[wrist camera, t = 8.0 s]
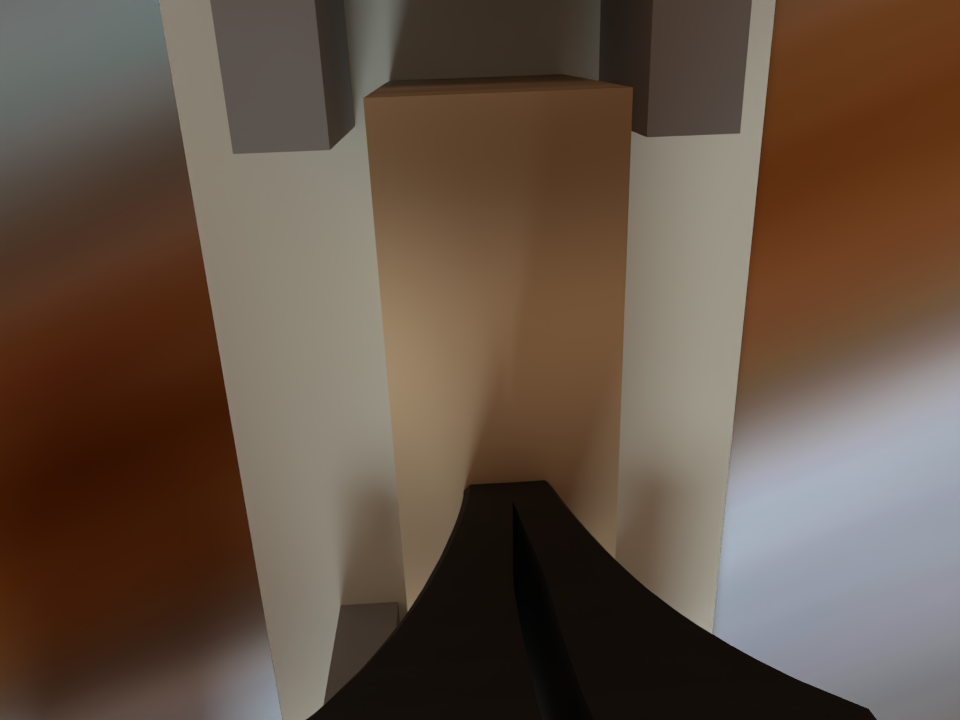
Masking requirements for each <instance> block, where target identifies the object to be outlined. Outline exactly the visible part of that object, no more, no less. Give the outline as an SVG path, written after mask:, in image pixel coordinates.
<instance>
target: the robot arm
mask: <svg viewBox="0 0 960 720" xmlns="http://www.w3.org/2000/svg"><path fill="white" fill-rule="evenodd" d="M306 720H877V719H876V718H875V717H874V715H873V714H872V713H871V711H870V710H869V709H867V708H865V707H862V706H860V705H857V704H855V703H853V702H850V701H848V700H845V699H843V698H840V697H838V696H836V695H833V694H831V693H828V692H826V691H823V690H821V689H819V688H816V687H814V686H811V685H809V684H806V683H804V682H802V681H799V680H797V679H795V678H793V677H791V676H788V675H786V674H784V673H782V672H780V671H778V670H776V669H774V668H772V667H770V666H768V665H766V664H764V663H762V662H760V661H758V660H756V659H754V658H753V657H751V656H749V655H747V654H745V653H744V652H742V651H740V650H738V649H736V648H735V647H733V646H731V645H729V644H727V643H726V642H724V641H723V640H721V639H719V638H718V637H716V636H715V635H713V634H711V633H710V632H708V631H706V630H705V629H703V628H702V627H700V626H698V625H697V624H695V623H694V622H692V621H691V620H689V619H688V618H686V617H685V616H683V615H682V614H680V613H679V612H678V611H676V610H675V609H674V608H672V607H671V606H670V605H668V604H667V603H666V602H664V601H663V600H662V599H660V598H659V597H658V596H656V595H655V594H654V593H652V592H651V591H650V590H648V589H647V588H646V587H645V586H644V585H643V584H641V583H640V582H639V581H638V580H637V579H636V578H635V577H634V576H633V575H631V574H630V573H629V572H628V571H627V570H626V569H625V568H624V567H623V566H622V565H621V564H620V563H619V562H618V561H617V560H615V559H614V558H613V557H612V556H611V555H610V554H609V553H608V552H607V551H606V549H605V548H604V547H603V546H602V545H601V544H600V543H599V542H598V541H597V540H596V539H595V538H594V537H593V536H592V535H591V533H590V532H589V531H588V530H587V529H586V528H585V527H584V526H583V525H582V523H581V522H580V521H579V520H578V519H577V518H576V516H575V515H574V514H573V513H572V512H571V510H570V509H569V508H568V507H567V505H566V504H565V503H564V502H563V500H562V499H561V498H560V496H559V495H558V494H557V492H556V491H555V490H554V488H553V487H552V486H551V485H550V484H549V483H548V482H547V481H546V480H541V481H525V482H508V483H490V484H470V485H469V486H468V487H467V488H466V489H465V490H464V491H463V500H462V504H461V508H460V511H459V514H458V517H457V520H456V523H455V525H454V528H453V530H452V533H451V535H450V537H449V539H448V541H447V544H446V546H445V548H444V550H443V553H442V555H441V557H440V559H439V561H438V562H437V564H436V566H435V568H434V570H433V571H432V573H431V575H430V577H429V578H428V580H427V582H426V584H425V586H424V587H423V589H422V591H421V592H420V594H419V595H418V597H417V599H416V600H415V602H414V603H413V605H412V606H411V608H410V609H409V611H408V612H407V613H406V615H405V616H404V618H403V619H402V620H401V622H400V623H399V624H398V626H397V627H396V628H395V630H394V631H393V632H392V633H391V635H390V636H389V637H388V638H387V640H386V641H385V642H384V643H383V644H382V646H381V647H380V648H379V649H378V650H377V652H376V653H375V654H374V655H373V656H372V657H371V659H370V660H369V661H368V662H367V663H366V664H365V665H364V666H363V667H362V668H361V669H360V671H359V672H358V673H357V674H356V675H354V676H353V677H352V678H351V679H350V680H349V681H348V682H347V683H346V684H345V685H344V686H343V687H342V688H341V689H340V690H339V691H338V692H337V693H336V694H335V695H334V696H333V697H332V698H331V699H330V700H329V701H328V702H327V703H326V704H324V705H323V706H322V707H321V708H320V709H319V710H318V711H316V712H315V713H314V714H313V715H311V716H310V717H309V718H307V719H306Z"/></svg>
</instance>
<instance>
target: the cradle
mask: <svg viewBox="0 0 960 720" xmlns="http://www.w3.org/2000/svg"><path fill="white" fill-rule="evenodd" d="M775 2H776V0H159V5H160V11H161V16H162V22H163V28H164V34H165V40H166V46H167V51H168V57H169V63H170V69H171V75H172V80H173V86H174V92H175V98H176V104H177V110H178V115H179V121H180V127H181V133H182V139H183V144H184V150H185V156H186V162H187V168H188V174H189V179H190V185H191V191H192V197H193V203H194V208H195V214H196V220H197V226H198V232H199V237H200V243H201V249H202V255H203V261H204V267H205V272H206V278H207V284H208V290H209V296H210V301H211V307H212V313H213V319H214V325H215V331H216V336H217V342H218V348H219V354H220V360H221V365H222V371H223V377H224V383H225V389H226V395H227V400H228V406H229V412H230V418H231V424H232V429H233V435H234V441H235V447H236V453H237V458H238V464H239V470H240V476H241V482H242V488H243V493H244V499H245V505H246V511H247V517H248V522H249V528H250V534H251V540H252V546H253V552H254V557H255V563H256V569H257V575H258V581H259V586H260V592H261V598H262V604H263V610H264V616H265V621H266V627H267V633H268V639H269V645H270V650H271V656H272V662H273V668H274V674H275V679H276V685H277V691H278V697H279V703H280V709H281V714H282V720H306V719H307V718H309V717H310V716H311V715H313V714H314V713H315V712H316V711H318V710H319V709H320V708H321V707H322V706H323V705H324V704H326V703H327V702H328V701H329V700H330V699H331V698H332V697H333V696H334V695H335V694H336V693H337V692H338V691H339V690H340V689H341V688H342V687H343V686H344V685H345V684H346V683H347V682H348V681H349V680H350V679H351V678H352V677H353V676H354V675H356V674H357V673H358V672H359V671H360V669H361V668H362V667H363V666H364V665H365V664H366V663H367V662H368V661H369V660H370V659H371V657H372V656H373V655H374V654H375V653H376V652H377V650H378V649H379V648H380V647H381V646H382V644H383V643H384V642H385V641H386V640H387V638H388V637H389V636H390V635H391V633H392V632H393V631H394V630H395V628H396V627H397V626H398V624H399V623H400V622H401V620H402V619H403V618H404V616H405V615H406V613H407V612H408V611H407V599H406V588H405V576H404V565H403V553H402V541H401V530H400V518H399V507H398V495H397V484H396V472H395V461H394V449H393V437H392V426H391V414H390V403H389V391H388V380H387V368H386V357H385V345H384V333H383V322H382V310H381V299H380V287H379V276H378V264H377V253H376V241H375V229H374V218H373V206H372V195H371V183H370V172H369V160H368V148H367V137H366V125H365V114H364V102H363V98H364V97H365V96H367V95H368V94H370V93H371V92H373V91H374V90H376V89H377V88H379V87H380V86H382V85H383V84H385V83H387V82H388V81H395V80H421V79H447V78H473V77H499V76H525V75H551V74H565V75H570V76H576V77H581V78H586V79H591V80H597V81H602V82H607V83H613V84H618V85H623V86H628V87H633V102H632V129H631V155H630V182H629V208H628V235H627V261H626V287H625V314H624V340H623V367H622V393H621V420H620V446H619V473H618V499H617V526H616V552H615V560H617V561H618V562H619V563H620V564H621V565H622V566H623V567H624V568H625V569H626V570H627V571H628V572H629V573H630V574H631V575H633V576H634V577H635V578H636V579H637V580H638V581H639V582H640V583H641V584H643V585H644V586H645V587H646V588H647V589H648V590H650V591H651V592H652V593H654V594H655V595H656V596H658V597H659V598H660V599H662V600H663V601H664V602H666V603H667V604H668V605H670V606H671V607H672V608H674V609H675V610H676V611H678V612H679V613H680V614H682V615H683V616H685V617H686V618H688V619H689V620H691V621H692V622H694V623H695V624H697V625H698V626H700V627H702V628H703V629H705V630H706V631H708V632H710V633H711V634H712V630H713V620H714V610H715V600H716V590H717V580H718V570H719V560H720V550H721V540H722V530H723V520H724V510H725V500H726V490H727V480H728V470H729V460H730V450H731V440H732V431H733V421H734V411H735V401H736V391H737V381H738V371H739V361H740V351H741V341H742V331H743V321H744V311H745V301H746V291H747V281H748V271H749V261H750V251H751V241H752V231H753V221H754V211H755V201H756V191H757V181H758V171H759V162H760V152H761V142H762V132H763V122H764V112H765V102H766V92H767V82H768V72H769V62H770V52H771V42H772V32H773V22H774V12H775Z"/></svg>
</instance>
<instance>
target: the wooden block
mask: <svg viewBox="0 0 960 720" xmlns="http://www.w3.org/2000/svg"><path fill="white" fill-rule="evenodd" d="M363 102H364V114H365V125H366V137H367V148H368V160H369V172H370V183H371V195H372V206H373V218H374V229H375V241H376V253H377V264H378V276H379V287H380V299H381V310H382V322H383V333H384V345H385V357H386V368H387V380H388V391H389V403H390V414H391V426H392V437H393V449H394V461H395V472H396V484H397V495H398V507H399V518H400V530H401V541H402V553H403V565H404V576H405V588H406V599H407V611H409V609H410V608H411V606H412V605H413V603H414V602H415V600H416V599H417V597H418V595H419V594H420V592H421V591H422V589H423V587H424V586H425V584H426V582H427V580H428V578H429V577H430V575H431V573H432V571H433V570H434V568H435V566H436V564H437V562H438V561H439V559H440V557H441V555H442V553H443V550H444V548H445V546H446V544H447V541H448V539H449V537H450V535H451V533H452V530H453V528H454V525H455V523H456V520H457V517H458V514H459V511H460V508H461V504H462V500H463V491H464V490H465V489H466V488H467V487H468V486H469V485H470V484H490V483H508V482H525V481H541V480H546V481H547V482H548V483H549V484H550V485H551V486H552V487H553V488H554V490H555V491H556V492H557V494H558V495H559V496H560V498H561V499H562V500H563V502H564V503H565V504H566V505H567V507H568V508H569V509H570V510H571V512H572V513H573V514H574V515H575V516H576V518H577V519H578V520H579V521H580V522H581V523H582V525H583V526H584V527H585V528H586V529H587V530H588V531H589V532H590V533H591V535H592V536H593V537H594V538H595V539H596V540H597V541H598V542H599V543H600V544H601V545H602V546H603V547H604V548H605V549H606V551H607V552H608V553H609V554H610V555H611V556H612V557H613V558H614V559H615V552H616V526H617V499H618V473H619V446H620V420H621V393H622V367H623V340H624V314H625V287H626V261H627V235H628V208H629V182H630V155H631V129H632V102H633V87H628V86H623V85H618V84H613V83H607V82H602V81H597V80H591V79H586V78H581V77H576V76H570V75H565V74H551V75H525V76H499V77H473V78H447V79H421V80H395V81H388V82H387V83H385V84H383V85H382V86H380V87H379V88H377V89H376V90H374V91H373V92H371V93H370V94H368V95H367V96H365V97H364V98H363Z"/></svg>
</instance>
